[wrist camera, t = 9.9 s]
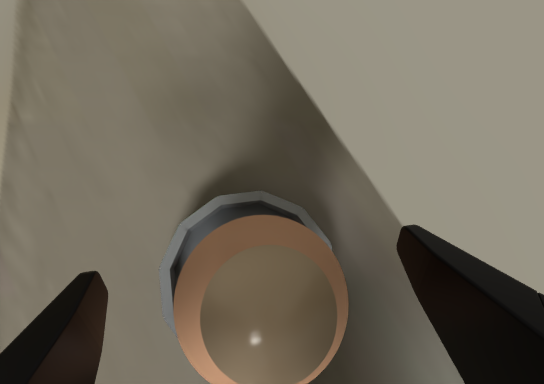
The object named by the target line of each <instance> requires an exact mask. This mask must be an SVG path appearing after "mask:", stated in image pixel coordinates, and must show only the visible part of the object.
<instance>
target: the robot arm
mask: <svg viewBox="0 0 544 384" xmlns="http://www.w3.org/2000/svg"><path fill="white" fill-rule="evenodd" d="M397 252H398V255H399V257H400V259H401V262H402V264H403V266H404V269H405V271H406V273H407V276H408V278H409V280H410V283H411V285H412V288H413V290H414V292H415V294H416V296H417V298H418V300H419V302H420V304H421V305H422V307H423V309H424V311H425V313H426V314H427V316H428V318H429V320H430V322H431V323H432V325H433V327H434V329H435V331H436V332H437V334H438V336H439V338H440V340H441V341H442V343H443V345H444V347H445V349H446V350H447V352H448V354H449V356H450V358H451V359H452V361H453V363H454V365H455V366H456V368H457V370H458V372H459V374H460V375H461V377H462V379H463V381H464V383H465V384H544V295H543V294H541V293H537V291H536V290H534V289H532V288H530V287H528V286H526V285H525V284H523V283H521V282H519V281H517V280H515V279H514V278H512V277H510V276H508V275H507V274H505V273H503V272H501V271H499V270H497V269H495V268H494V267H492V266H490V265H488V264H486V263H485V262H483V261H481V260H479V259H478V258H476V257H474V256H472V255H470V254H468V253H467V252H465V251H463V250H461V249H459V248H458V247H455V246H454V245H452V244H450V243H448V242H447V241H445V240H443V239H441V238H439V237H438V236H436V235H434V234H432V233H430V232H429V231H427V230H425V229H423V228H421V227H420V226H417V225H408V226H403V227H402V228H401V231H400V235H399V238H398V242H397ZM107 302H108V291H107V288H106V286H105V284H104V282H103V280H102V278H101V276H100V274H99V273H98V272H97V271H89V272H83V273H80V274H79V275H78V276H77V277H76V278H75V279H74V280H73V281H72V282H71V283H70V284H69V285H68V286H67V287H66V288H65V289H64V290H63V291H62V292H61V293H60V294H59V295H58V296H57V297H56V298H55V299H54V300H53V301H52V302H51V303H50V304H49V305H48V306H47V307H46V308H45V309H44V310H43V311H42V312H41V313H40V314H39V315H38V316H37V317H36V318H35V319H34V320H33V321H32V322H31V323H30V324H29V325H28V326H27V327H26V328H25V329H24V330H23V331H22V332H21V333H20V334H19V335H18V336H17V337H16V338H15V339H14V340H13V341H12V342H11V343H10V344H9V345H8V346H7V347H6V348H5V349H4V350H3V351H2V352H1V353H0V384H95V379H96V375H97V371H98V366H99V362H100V357H101V352H102V346H103V338H104V329H105V320H106V311H107Z"/></svg>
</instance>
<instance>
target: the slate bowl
mask: <svg viewBox="0 0 544 384" xmlns="http://www.w3.org/2000/svg"><path fill="white" fill-rule="evenodd" d="M253 215H273V216H279V217H283V218H288V219H290V220H293V221H295V222H298V223H300V224H302V225H304V226H305V227H307V228H309V229H310V230H311V231H313V232H314V233H316V234H317V235H318V236H319V237H320V238H321V239H322V240H323V241H324V242H325V243H326V244H327V246H328V247H329V248H330V249H331V251H332V246H331V243H330V241H329V240H328V238H327V237H326V236H325V234H324V233H323V232H322V231H321V229H320V228H319V227H318V226H317V224H316V223H315V222H314V221H313V219H312V218H311V217H310V215H309V214H308V213H307V212H306V210H305V209H304V208H302V207H301V206H299V205H296V204H294V203H291V202H289V201H287V200H284V199H282V198H279V197H277V196H275V195H272V194H270V193H267V192H265V191H252V192H244V193H236V194H228V195H220V196H218V197H217V196H216V197H215V198H214V199H212V200H211V201H210V202H208V203H207V204H205V205H204V206H203V207H201V208H200V209H199V210H197V211H196V212H194V213H193V214H192V215H190V216H189V217H188V218H186V219H185V220H184V221H182V222H181V223H180V224H181V225H180V224H179V225H178V228H177V230H176V232H175V234H174V236H173V238H172V241H171V243H170V245H169V247H168V249H167V251H166V254H165V256H164V258H163V260H162V262H161V264H160V269H159V277H160V289H161V301H162V313H163V317H165V318H164V320H165V322H166V323H167V324H168V326H169V327H170V328H171V330H172V331H173V333H174V334H175V335H176V337H177V333H176V329H175V323H174V315H173V307H174V295H175V289H176V285H177V281H178V278H179V275H180V273H181V270H182V268H183V266H184V264H185V262H186V260H187V259H188V257H189V255H190V254H191V253H192V251H193V250H194V249H195V247H196V246H197V245H198V244H199V243H200V242H201V241H202V240H203V239H204V238H205V237H206V236H207V235H209V234H210V233H211V232H212V231H214V230H215V229H217V228H219V227H220V226H222V225H224V224H226V223H228V222H230V221H233V220H235V219H239V218H242V217H247V216H253ZM177 338H178V337H177Z"/></svg>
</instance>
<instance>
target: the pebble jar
mask: <svg viewBox="0 0 544 384" xmlns="http://www.w3.org/2000/svg"><path fill="white" fill-rule="evenodd" d="M348 307H349V301H348V290H347V285H346V280H345V277H344V274H343V271H342V269H341V266H340V264H339V262H338V260H337V258H336V257H335V255H334V254H333V252H332V251H331V249H330V248H329V247H328V246H327V244H326V243H325V242H324V241H323V240H322V239H321V238H320V237H319V236H318V235H317V234H316V233H314V232H313V231H311V230H310V229H309V228H307V227H305V226H304V225H302V224H300V223H298V222H295V221H293V220H290V219H288V218H283V217H279V216H273V215H253V216H247V217H242V218H239V219H235V220H233V221H230V222H228V223H226V224H224V225H222V226H220V227H219V228H217V229H215V230H214V231H212V232H211V233H210V234H209V235H207V236H206V237H205V238H204V239H203V240H202V241H201V242H200V243H199V244H198V245H197V246H196V247H195V249H194V250H193V251H192V253H191V254H190V255H189V257H188V259H187V260H186V262H185V264H184V266H183V268H182V270H181V273H180V275H179V278H178V281H177V285H176V289H175V295H174V307H173V315H174V323H175V329H176V333H177V337H178V340H179V342H180V345H181V347H182V350H183V351H184V353H185V355H186V357H187V359H188V360H189V362H190V363H191V364H192V366H193V367H194V368H195V369H196V371H197V372H198V373H199V374H200V375H201V376H202V377H204V378H205V379H206V380H207V381H208V382H210V383H211V384H308V383H309V382H310V381H312V380H313V379H314V378H316V377H317V376H318V375H319V374H320V373H321V372H322V371H323V370H324V369H325V367H326V366H327V365H328V364H329V362H330V361H331V360H332V358H333V357H334V355H335V353H336V352H337V350H338V348H339V346H340V343H341V341H342V339H343V336H344V332H345V329H346V325H347V319H348Z"/></svg>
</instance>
